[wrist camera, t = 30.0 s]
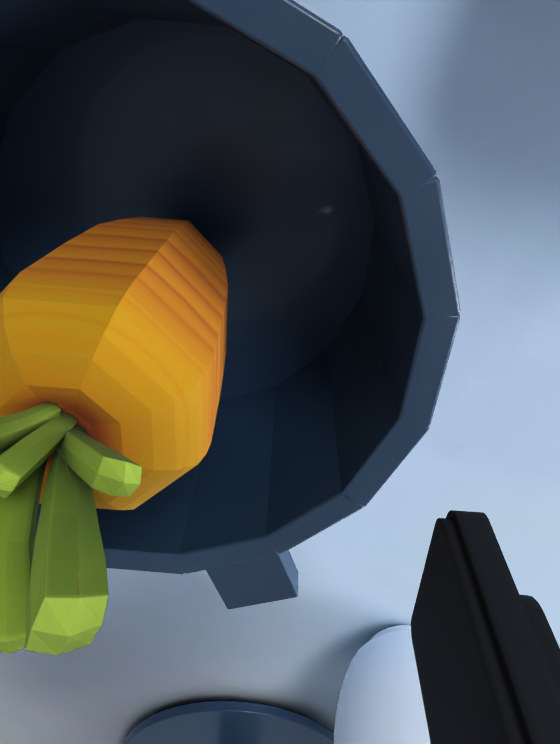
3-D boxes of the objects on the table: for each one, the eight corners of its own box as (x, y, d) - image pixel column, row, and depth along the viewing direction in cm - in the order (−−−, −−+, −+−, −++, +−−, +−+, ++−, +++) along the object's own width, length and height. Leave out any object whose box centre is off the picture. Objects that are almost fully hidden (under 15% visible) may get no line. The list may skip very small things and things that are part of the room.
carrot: (97, 272, 19) (-321, 697, 6) (143, 140, 17) (-361, 372, 4) (222, 330, 20) (86, 799, 7) (281, 212, 18) (237, 585, 5)
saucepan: (304, -230, 13) (312, -610, 6) (436, 413, 22) (505, 581, 15) (-171, -11, 16) (-586, -82, 8) (124, 486, 25) (52, 660, 18)
